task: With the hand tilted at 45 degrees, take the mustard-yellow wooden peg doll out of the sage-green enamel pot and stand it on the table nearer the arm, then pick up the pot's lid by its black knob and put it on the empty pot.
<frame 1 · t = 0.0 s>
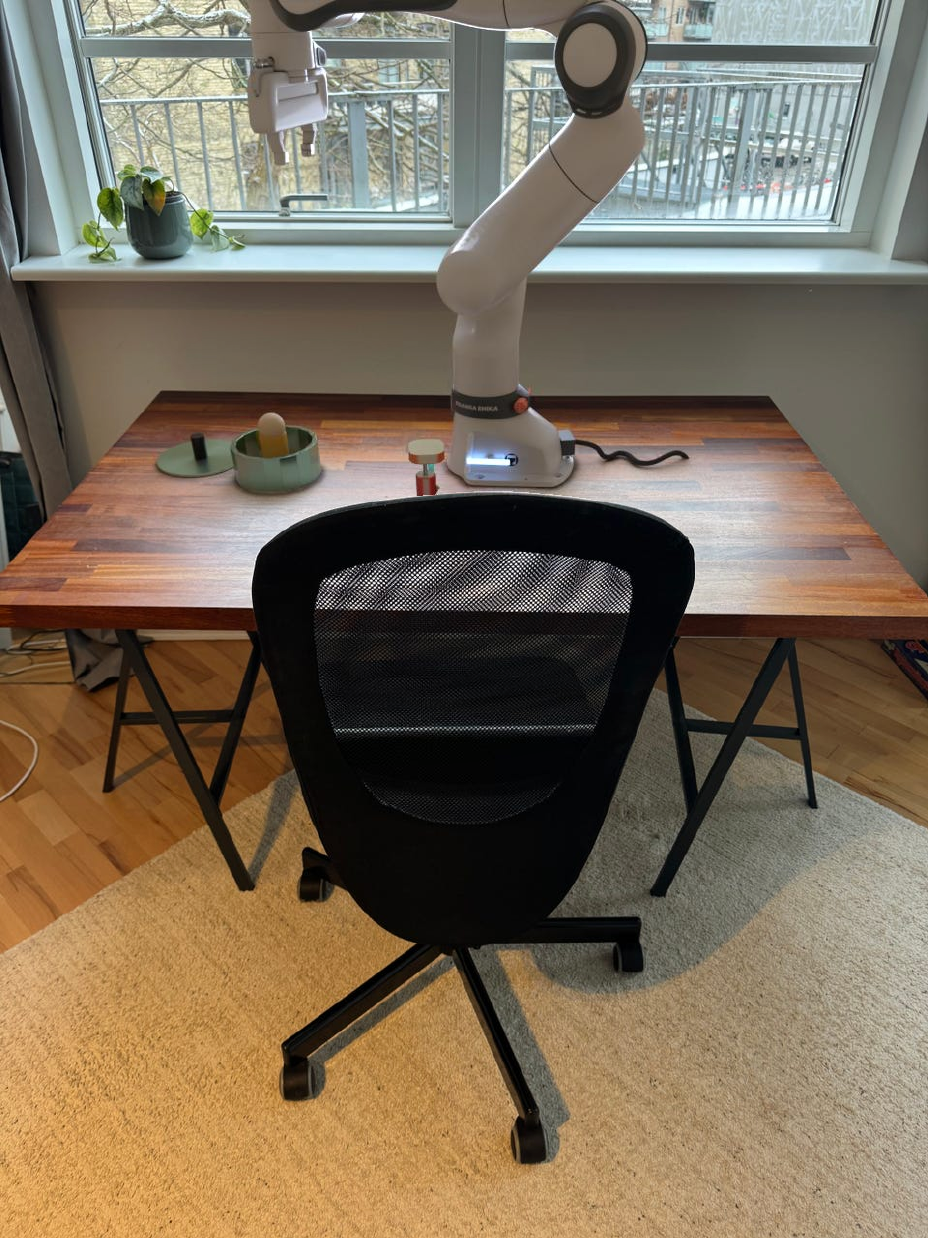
hand: (295, 160, 139), 48 cm above the table, tool pointing down, fingers open, 8 cm apart
lid: (201, 458, 161), point 1 cm above the table
pot: (279, 475, 156), on the table
toy: (278, 473, 155), resting on pot
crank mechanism: (429, 541, 136), on the table
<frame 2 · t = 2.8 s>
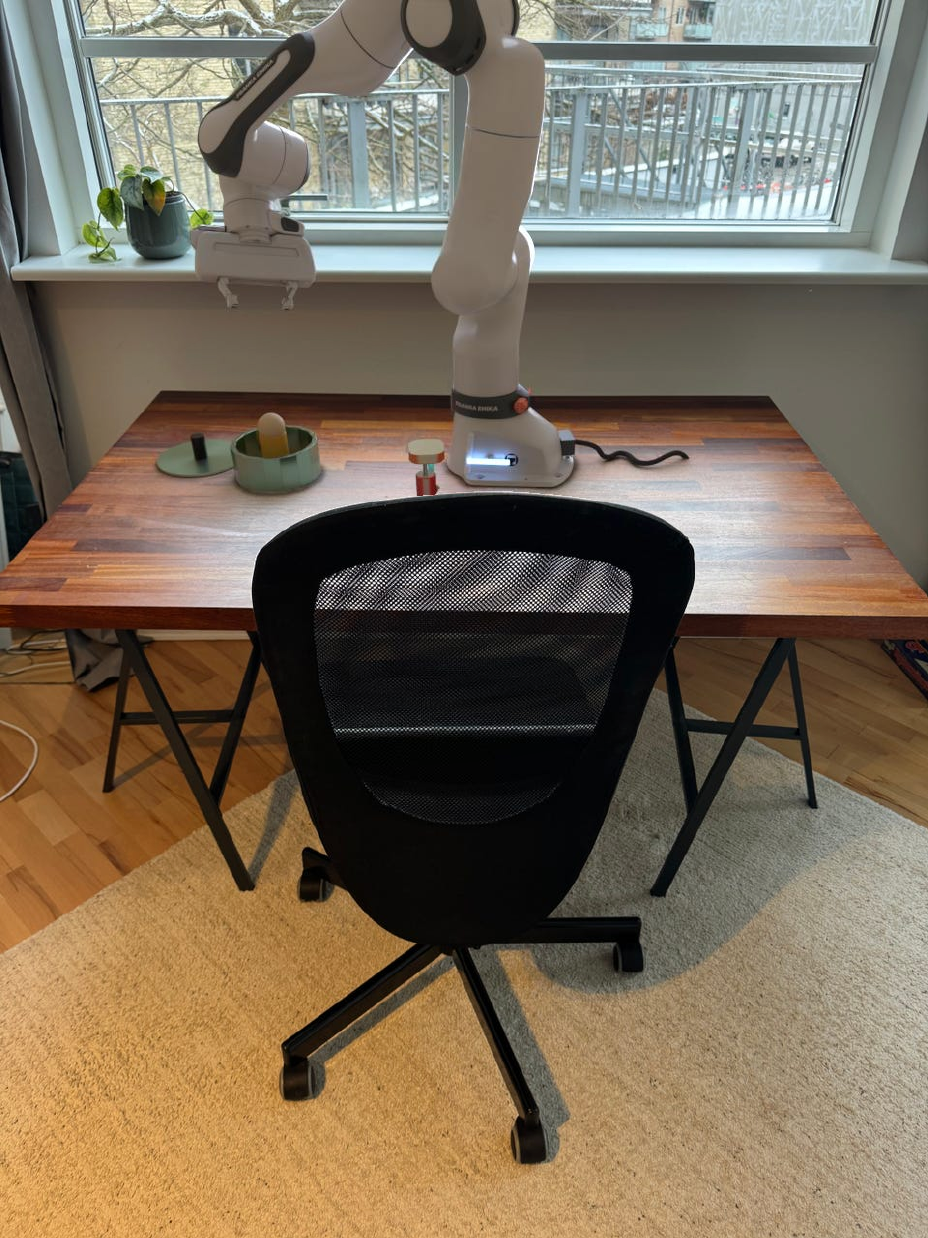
hand: (260, 308, 151), 26 cm above the table, tool tilted 35°, fingers open, 8 cm apart
nothing on the table moved.
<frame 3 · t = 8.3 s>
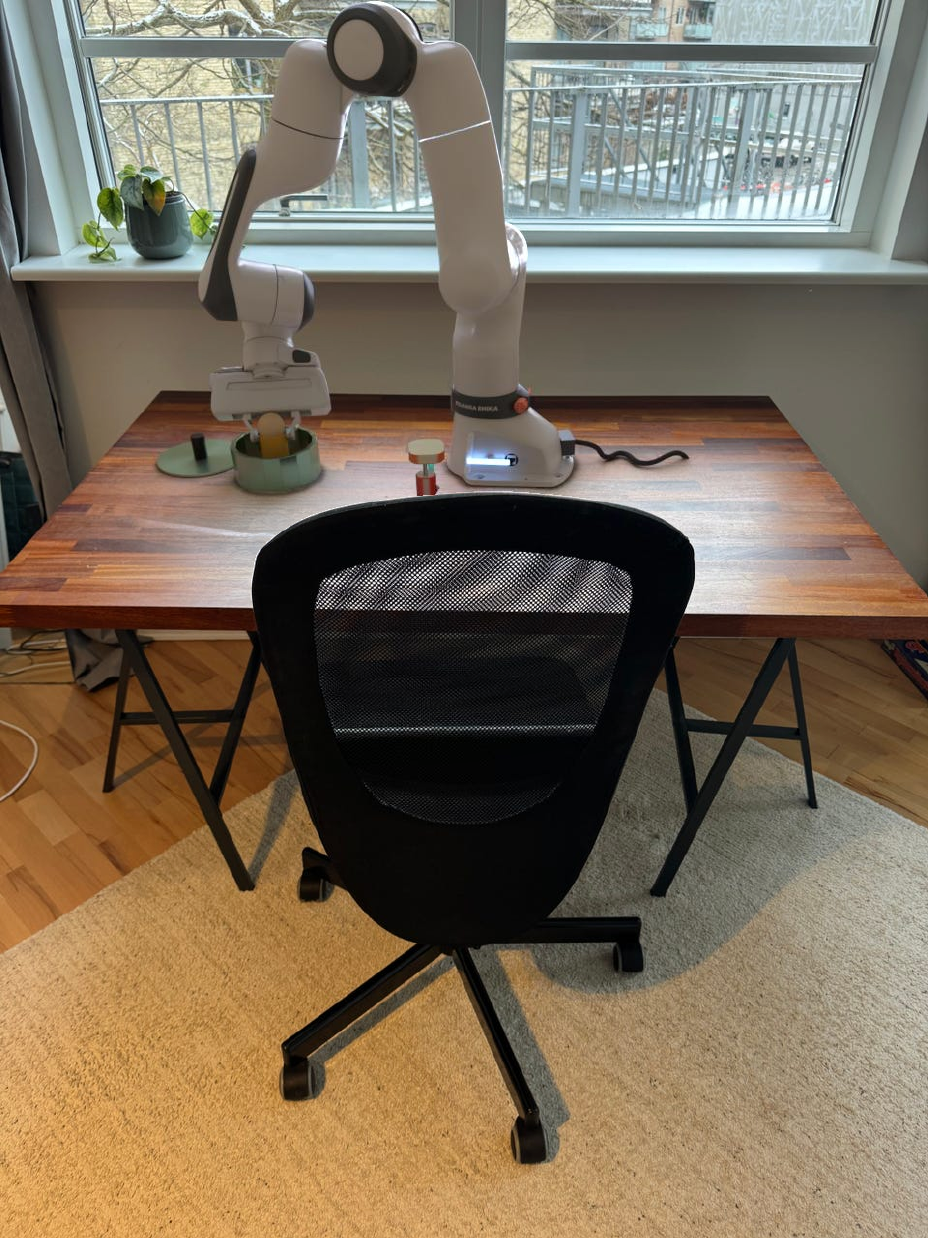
hand: (273, 440, 151), 7 cm above the table, tool tilted 45°, fingers closed on toy, 4 cm apart
toy: (278, 473, 155), point 1 cm above the table, touching gripper, pot
everything else where it was.
when the fingers open (6 cm above the table, at t = 16.8 s): toy stays where it is, on the table.
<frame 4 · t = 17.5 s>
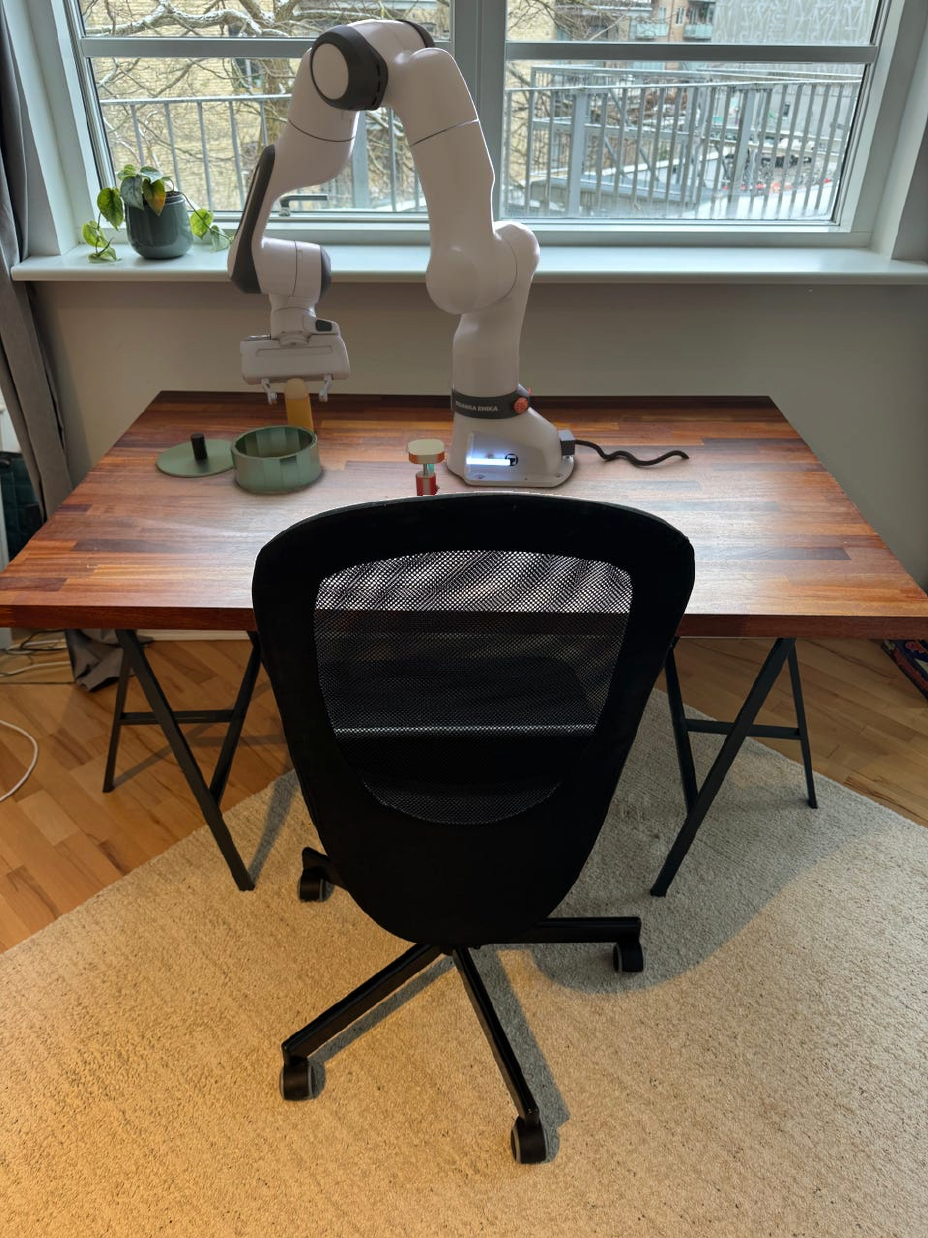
hand: (298, 401, 166), 7 cm above the table, tool tilted 45°, fingers open, 8 cm apart
toy: (302, 434, 171), on the table
everything else where it was.
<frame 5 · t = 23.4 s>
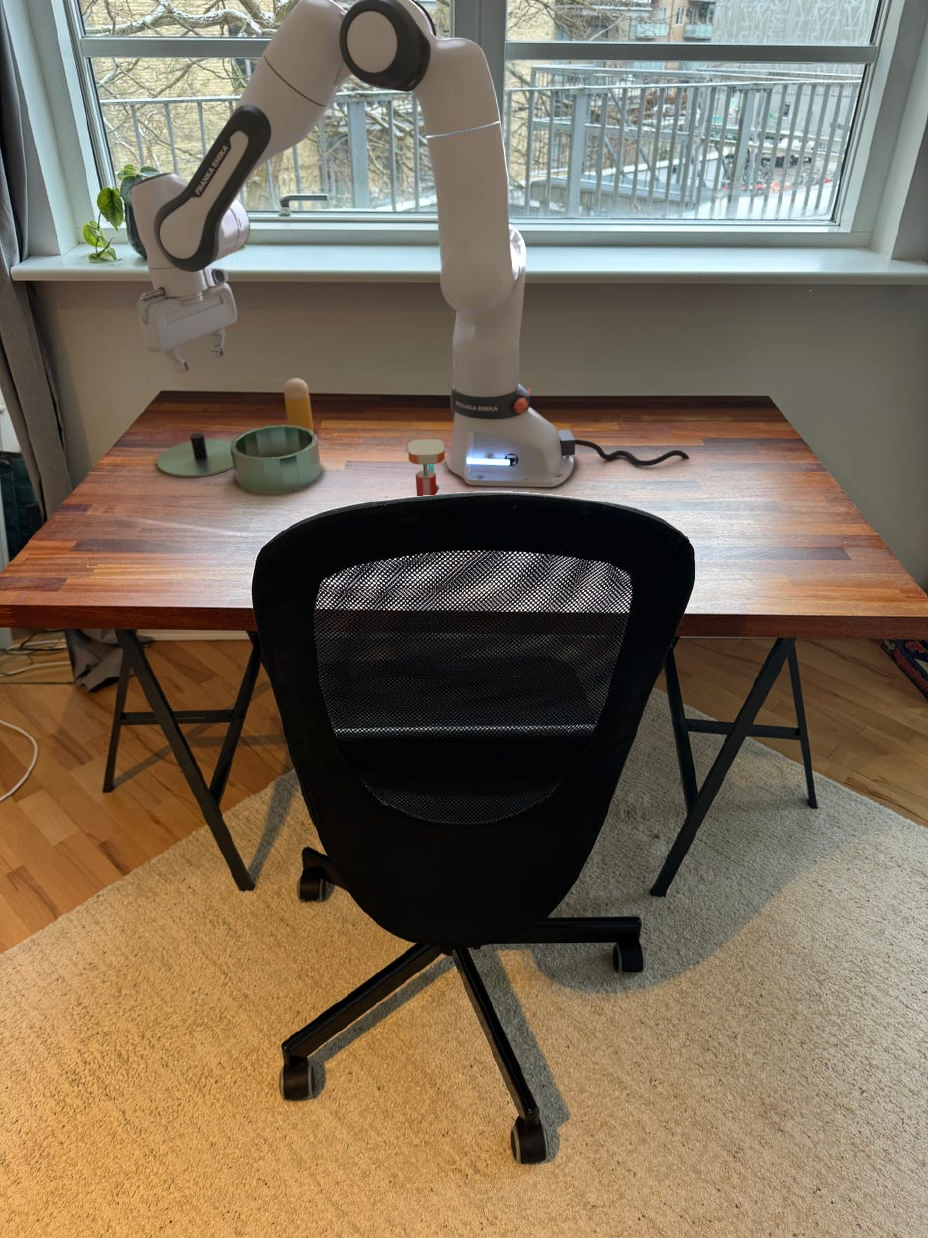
hand: (201, 363, 156), 16 cm above the table, tool pointing down, fingers open, 8 cm apart
nothing on the table moved.
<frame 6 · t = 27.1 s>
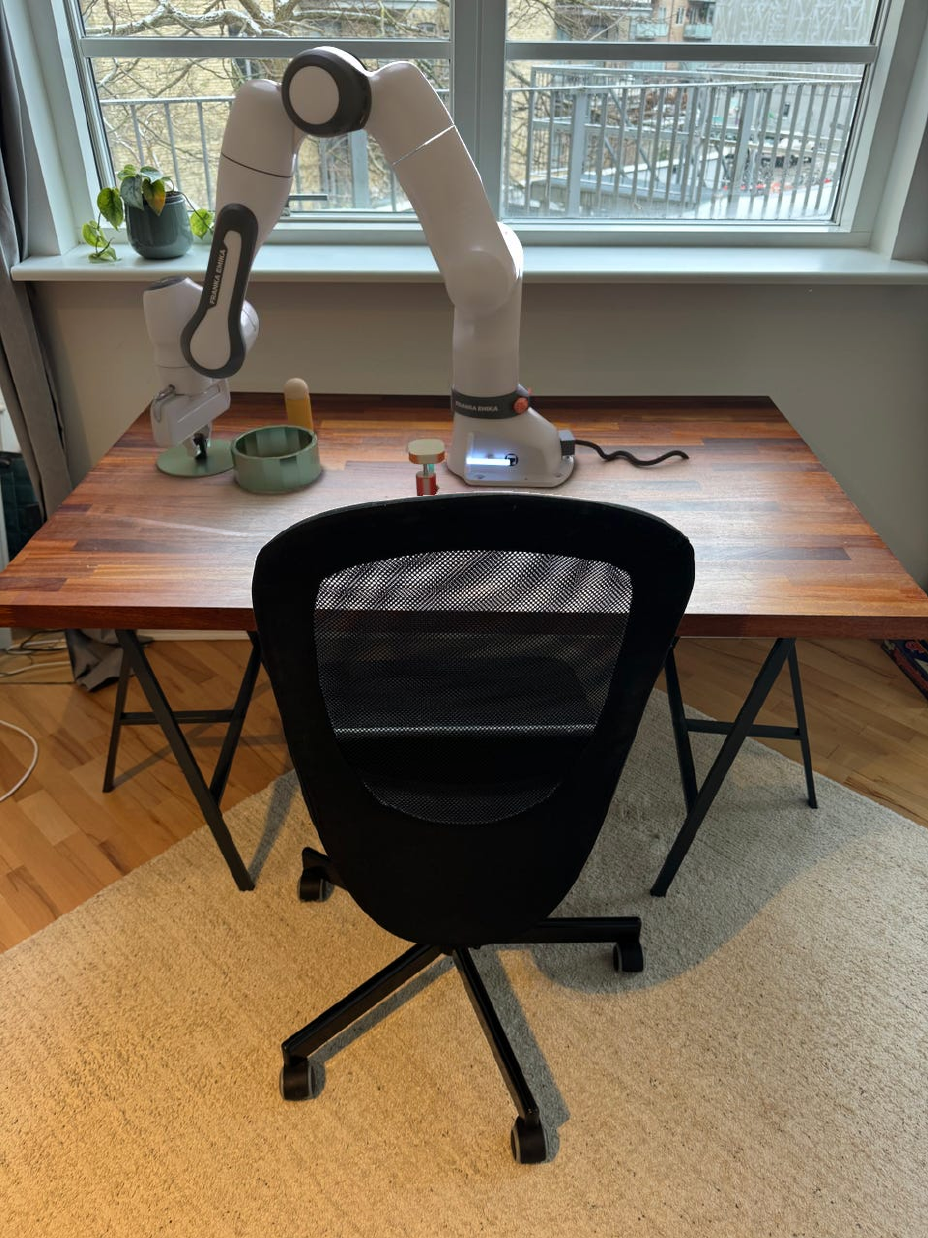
hand: (200, 450, 160), 2 cm above the table, tool pointing down, fingers closed on lid, 2 cm apart
lid: (201, 458, 161), point 1 cm above the table, touching gripper
everything else where it was.
when the fingers open (8 cm above the table, at t = 33.3 s): lid stays where it is, resting on pot.
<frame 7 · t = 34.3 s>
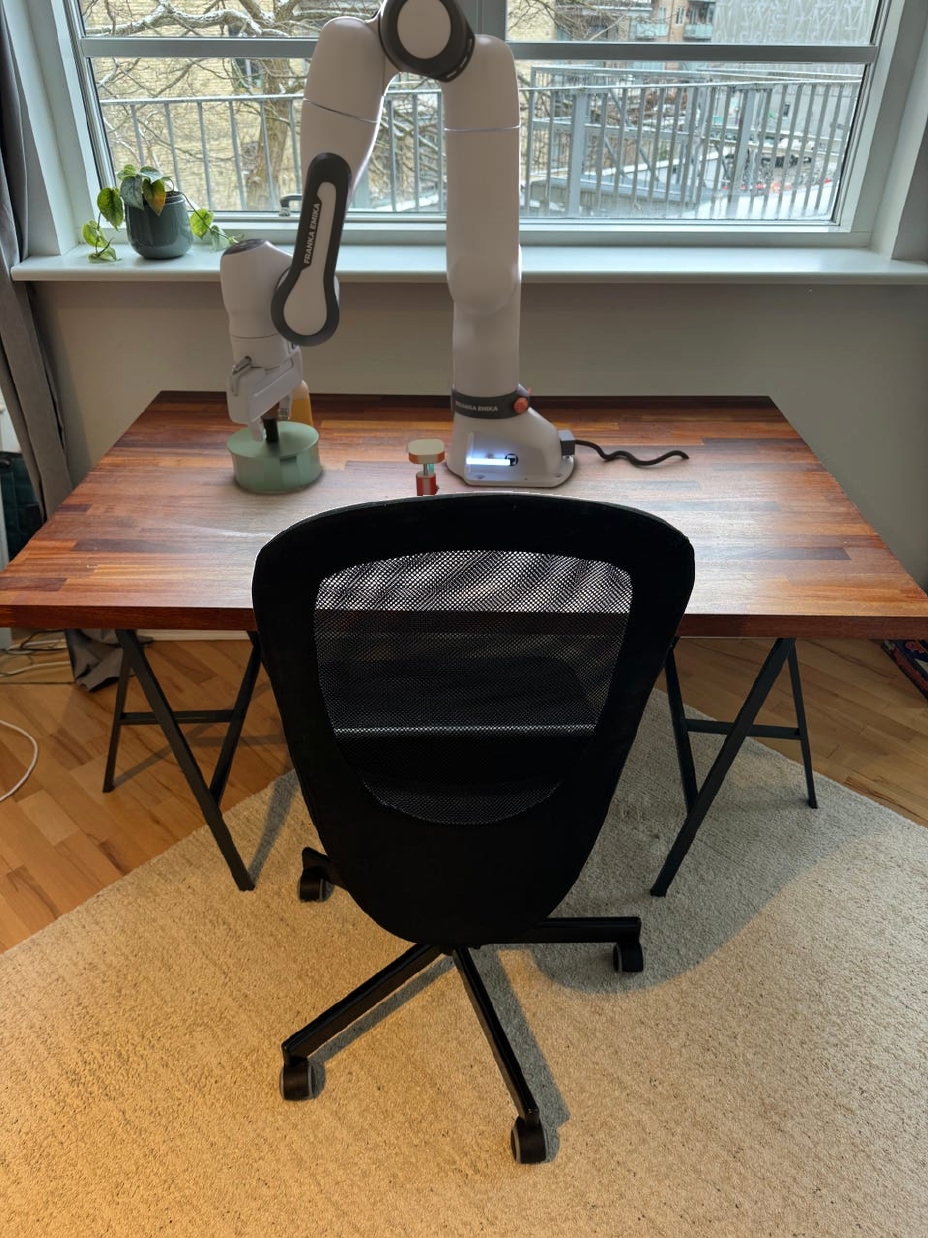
hand: (273, 428, 151), 9 cm above the table, tool pointing down, fingers open, 8 cm apart
lid: (273, 441, 152), point 6 cm above the table, touching pot
everything else where it was.
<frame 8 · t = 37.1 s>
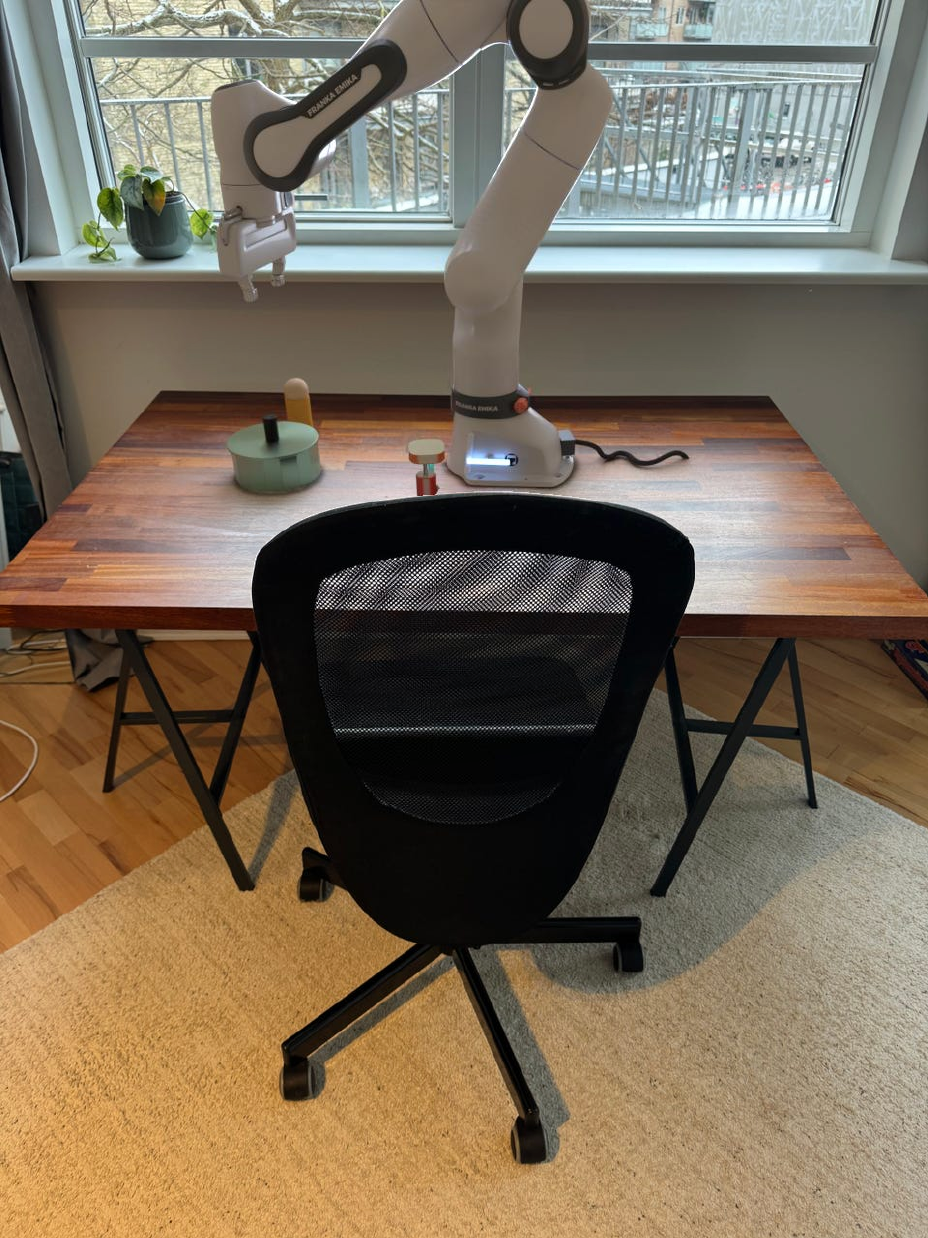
hand: (265, 292, 146), 29 cm above the table, tool pointing down, fingers open, 8 cm apart
nothing on the table moved.
at the end: toy inside the target area (0.1 cm from its centre), on the table; lid 0.1 cm off-centre on the pot, point 6.5 cm above the pot's base; lid tilted 0° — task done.
